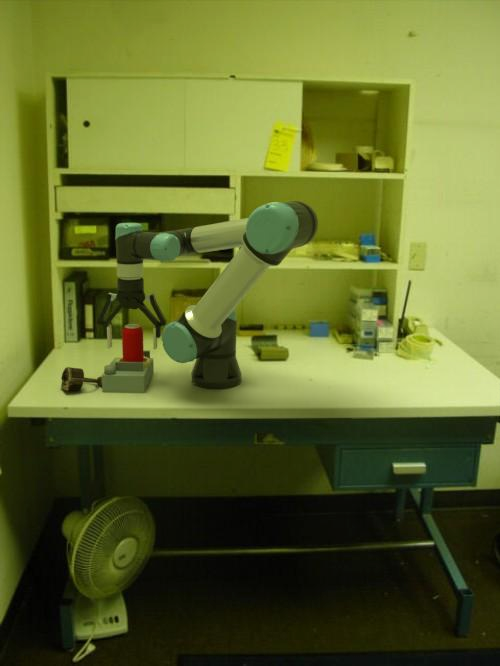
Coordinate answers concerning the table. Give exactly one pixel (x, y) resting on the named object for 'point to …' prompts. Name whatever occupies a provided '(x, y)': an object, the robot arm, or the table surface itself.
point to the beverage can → (132, 343)
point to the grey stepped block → (128, 375)
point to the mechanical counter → (76, 379)
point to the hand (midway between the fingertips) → (132, 347)
